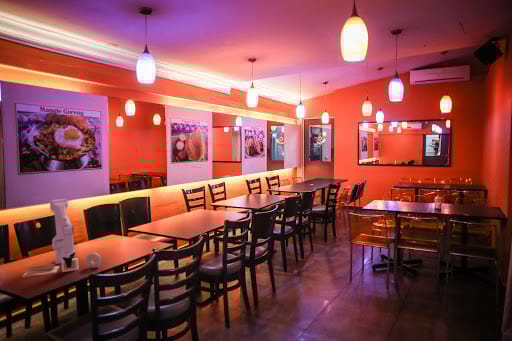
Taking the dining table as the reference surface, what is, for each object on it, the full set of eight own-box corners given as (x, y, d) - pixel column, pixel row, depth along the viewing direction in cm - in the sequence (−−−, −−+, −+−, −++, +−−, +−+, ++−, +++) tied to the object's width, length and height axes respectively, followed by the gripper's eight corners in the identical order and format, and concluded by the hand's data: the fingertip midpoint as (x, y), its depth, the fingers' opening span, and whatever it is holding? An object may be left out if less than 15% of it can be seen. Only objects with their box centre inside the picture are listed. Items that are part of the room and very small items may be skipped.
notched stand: (27, 271, 219) (26, 266, 219) (59, 267, 225) (58, 261, 225) (21, 278, 208) (21, 272, 207) (55, 273, 214) (55, 267, 214)
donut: (102, 266, 223) (101, 251, 222) (99, 268, 219) (98, 253, 218) (88, 266, 224) (87, 251, 223) (85, 268, 220) (84, 253, 220)
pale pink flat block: (62, 270, 218) (62, 260, 218) (78, 268, 221) (77, 258, 221) (62, 272, 216) (61, 261, 215) (78, 269, 219) (77, 259, 218)
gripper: (73, 246, 212) (75, 268, 213) (77, 241, 226) (78, 261, 226) (61, 248, 209) (62, 270, 210) (65, 242, 223) (66, 262, 224)
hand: (70, 265), depth 218 cm, fingers open, 7 cm apart
